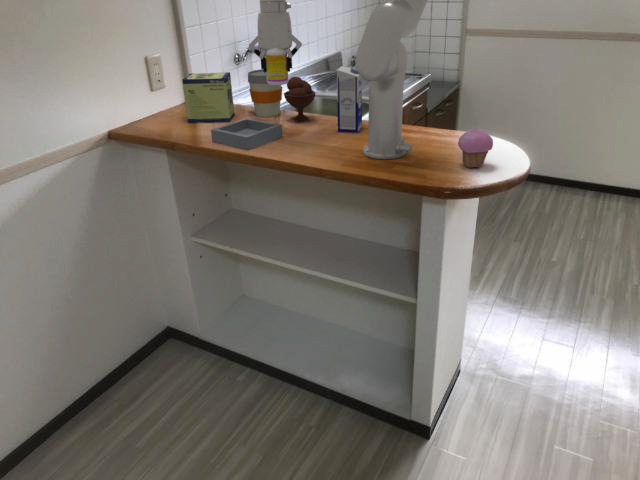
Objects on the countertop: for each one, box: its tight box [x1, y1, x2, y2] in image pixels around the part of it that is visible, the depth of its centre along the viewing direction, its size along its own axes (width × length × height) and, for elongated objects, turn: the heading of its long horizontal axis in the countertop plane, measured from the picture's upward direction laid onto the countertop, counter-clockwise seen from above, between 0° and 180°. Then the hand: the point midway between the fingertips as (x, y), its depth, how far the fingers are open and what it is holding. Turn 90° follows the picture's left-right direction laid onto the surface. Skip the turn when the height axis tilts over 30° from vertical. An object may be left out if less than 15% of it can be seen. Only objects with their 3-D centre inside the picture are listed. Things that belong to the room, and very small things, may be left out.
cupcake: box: [457, 128, 494, 169], centre depth 144 cm, size 9×9×10 cm
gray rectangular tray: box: [210, 117, 284, 151], centre depth 173 cm, size 16×16×4 cm
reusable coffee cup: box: [247, 68, 283, 118], centre depth 198 cm, size 13×13×15 cm
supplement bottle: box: [264, 43, 289, 86], centre depth 164 cm, size 7×7×13 cm
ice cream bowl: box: [283, 76, 317, 123], centre depth 189 cm, size 11×11×15 cm
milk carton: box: [336, 65, 363, 134], centre depth 175 cm, size 7×7×20 cm
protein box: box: [181, 71, 235, 124], centre depth 194 cm, size 10×16×16 cm
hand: (276, 70), depth 165 cm, fingers closed on supplement bottle, 6 cm apart
